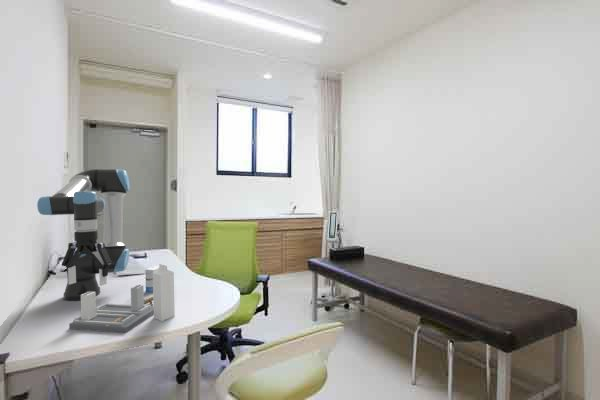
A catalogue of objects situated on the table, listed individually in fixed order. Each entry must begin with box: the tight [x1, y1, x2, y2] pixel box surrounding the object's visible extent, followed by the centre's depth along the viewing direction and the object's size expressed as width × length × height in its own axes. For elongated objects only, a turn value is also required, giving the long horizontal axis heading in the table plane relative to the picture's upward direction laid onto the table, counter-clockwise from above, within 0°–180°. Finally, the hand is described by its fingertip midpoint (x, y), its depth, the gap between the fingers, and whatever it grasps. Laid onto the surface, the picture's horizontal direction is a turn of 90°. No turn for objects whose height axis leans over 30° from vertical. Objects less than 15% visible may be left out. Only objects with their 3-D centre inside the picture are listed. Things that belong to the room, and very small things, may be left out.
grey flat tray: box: [68, 302, 154, 333], centre depth 127 cm, size 24×20×3 cm
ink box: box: [144, 265, 159, 293], centre depth 165 cm, size 8×5×12 cm, turn 168°
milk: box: [152, 263, 176, 322], centre depth 130 cm, size 6×6×22 cm
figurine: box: [144, 296, 153, 306], centre depth 143 cm, size 4×4×15 cm
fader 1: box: [80, 291, 97, 320], centre depth 123 cm, size 3×4×10 cm
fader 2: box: [130, 284, 145, 312], centre depth 131 cm, size 3×4×10 cm
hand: (87, 284), depth 123 cm, fingers open, 13 cm apart
